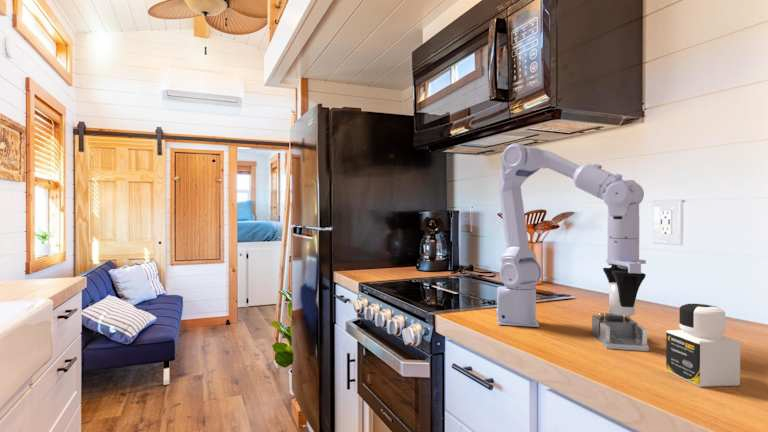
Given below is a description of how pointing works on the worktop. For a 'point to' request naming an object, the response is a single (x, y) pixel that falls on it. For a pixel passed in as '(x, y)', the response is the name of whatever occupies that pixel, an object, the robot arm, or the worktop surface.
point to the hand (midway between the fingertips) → (623, 304)
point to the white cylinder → (618, 302)
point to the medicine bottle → (703, 348)
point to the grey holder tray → (619, 332)
